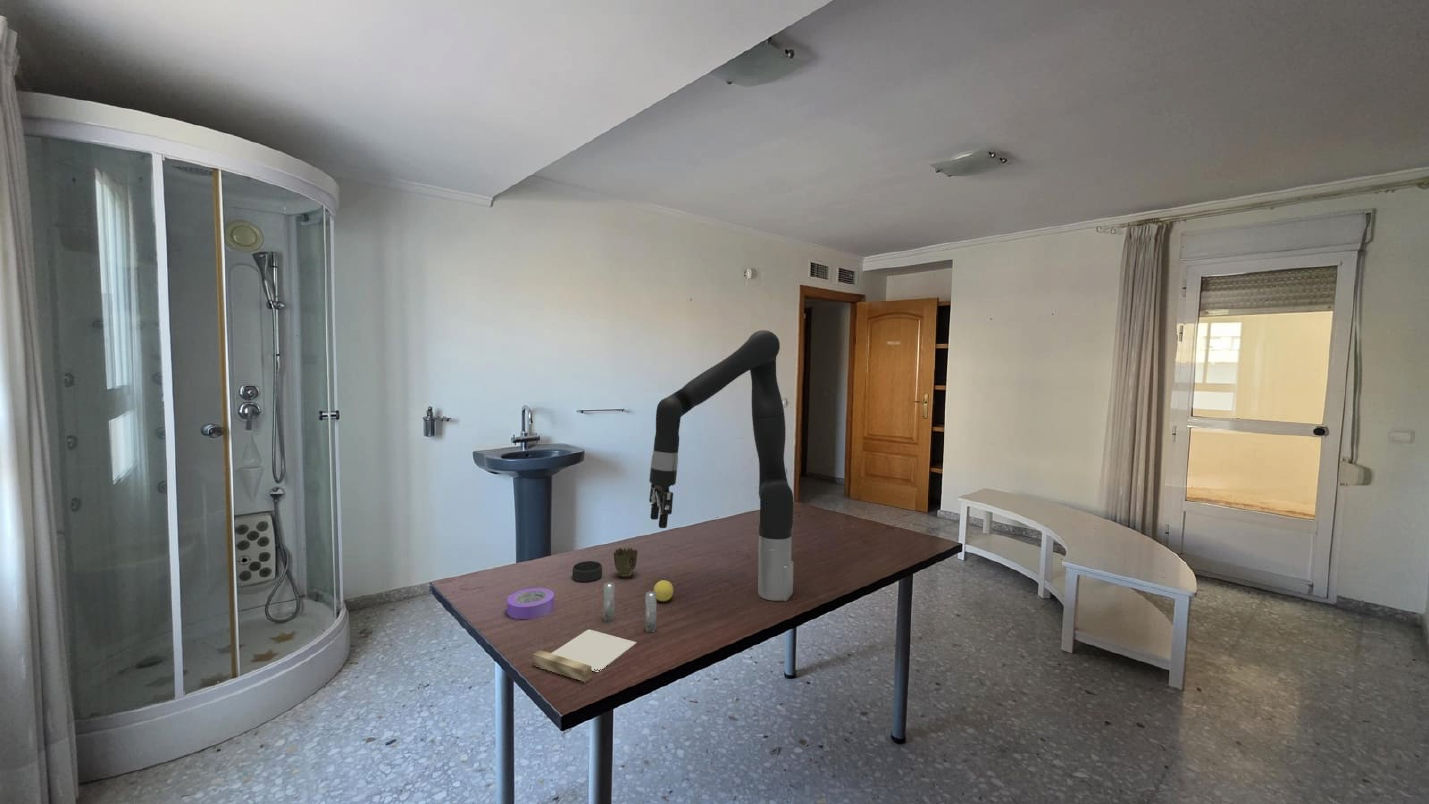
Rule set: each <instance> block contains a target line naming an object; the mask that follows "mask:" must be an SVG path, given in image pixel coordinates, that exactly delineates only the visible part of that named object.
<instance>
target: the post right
mask: <svg viewBox="0 0 1429 804" xmlns="http://www.w3.org/2000/svg"><path fill="white" fill-rule="evenodd" d="M644 627H645V628H644V630H645V632H646V633H655V632H656V631H657V599H656V592H654V590H650V591H647V592H645V626H644Z"/></svg>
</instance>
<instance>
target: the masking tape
mask: <svg viewBox="0 0 1429 804" xmlns="http://www.w3.org/2000/svg"><path fill="white" fill-rule="evenodd" d="M554 610H555V593H554V592H553V591H552V590H551V589H547V588H543V587H531V588H526V589H521V590H518V591H516V592H514V593H512V594H511V595H509V596H508V597H507V599H506V614H508V615H509V616H510V617H509V616H508V615H507V616H508V617H509V618H511V617H512V618H511V619H513V618H515V619H514V620H518V619H529V620H535V619H539V617H540V618H542V616H543V617H546V616H548V615H549V614H551V613H552V612H551V611H554ZM534 618H535V619H534Z"/></svg>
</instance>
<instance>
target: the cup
mask: <svg viewBox="0 0 1429 804" xmlns="http://www.w3.org/2000/svg"><path fill="white" fill-rule="evenodd" d="M612 554H613V558H614V560H613V561H614V566H615V569H616V571H617V572H618V573H619V577H621V578H623V579H627V578H630V577H631V576H632V572H633V571H634V570H635V568H636V565H637V560H638V549H636V548H632V547H628V548H626V547H624V548H621V547H619V548H618V549H617V548H616V549H615V551H613V553H612Z"/></svg>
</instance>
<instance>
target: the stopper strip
mask: <svg viewBox="0 0 1429 804" xmlns="http://www.w3.org/2000/svg"><path fill="white" fill-rule="evenodd" d="M551 653H552V652H548V651H544V650H541V649H540V650H537V651H536V652H534V653H532V667H534V666H536V667H535V668H537V667H539V668H538V669H540V668H541V670H543V669H547V670H549V671H552V672H556V673H558V674H561V675H564V676H567V677H572V678H575V679H578V680H582V681H584V682H585V681H586V680H588V679H589V678H591V679H592V671H591V666H589V665H586V664H583V663H580V662H577V661H573V660H570V659H567V658H564V657H561V656H557V655H554V654H551ZM549 671H548V672H549ZM552 672H551V673H552ZM558 674H557V675H558ZM561 675H560V676H561ZM564 676H563V677H564ZM567 677H566V678H567ZM588 681H589V680H588Z"/></svg>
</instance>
